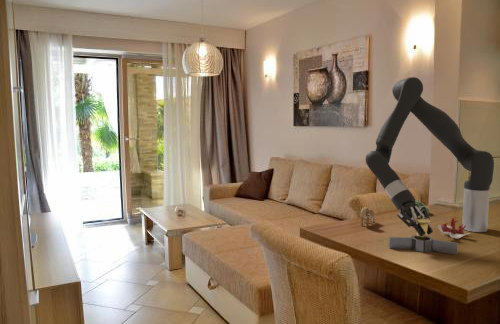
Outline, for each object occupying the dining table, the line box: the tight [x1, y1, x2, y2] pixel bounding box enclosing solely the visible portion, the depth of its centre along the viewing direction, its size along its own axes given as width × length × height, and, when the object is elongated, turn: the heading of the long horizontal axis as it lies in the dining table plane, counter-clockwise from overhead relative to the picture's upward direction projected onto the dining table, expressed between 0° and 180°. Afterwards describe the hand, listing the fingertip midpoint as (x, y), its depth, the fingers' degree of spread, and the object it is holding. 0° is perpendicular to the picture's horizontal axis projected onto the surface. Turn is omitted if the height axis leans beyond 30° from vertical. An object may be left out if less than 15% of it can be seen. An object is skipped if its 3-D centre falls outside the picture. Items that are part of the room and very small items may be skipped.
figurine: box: [436, 217, 471, 240], centre depth 156 cm, size 15×12×7 cm
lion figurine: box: [359, 206, 375, 228], centre depth 175 cm, size 15×5×9 cm, turn 155°
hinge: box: [388, 234, 459, 256], centre depth 141 cm, size 10×22×4 cm, turn 55°
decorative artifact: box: [415, 199, 430, 216], centre depth 195 cm, size 10×7×10 cm
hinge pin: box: [415, 216, 431, 240], centre depth 141 cm, size 5×5×9 cm
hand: (427, 233), depth 140 cm, fingers closed on hinge pin, 3 cm apart
